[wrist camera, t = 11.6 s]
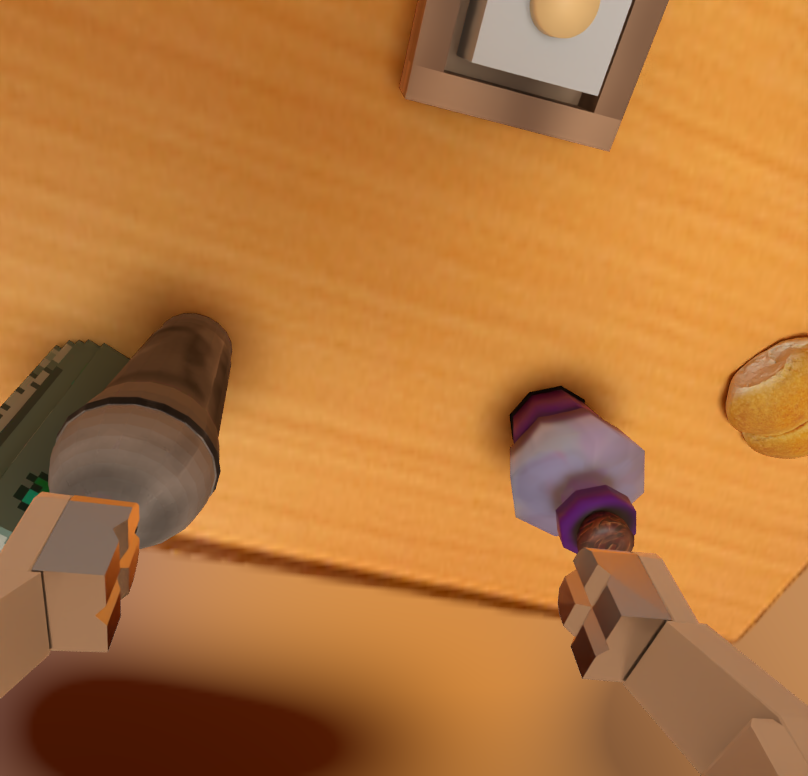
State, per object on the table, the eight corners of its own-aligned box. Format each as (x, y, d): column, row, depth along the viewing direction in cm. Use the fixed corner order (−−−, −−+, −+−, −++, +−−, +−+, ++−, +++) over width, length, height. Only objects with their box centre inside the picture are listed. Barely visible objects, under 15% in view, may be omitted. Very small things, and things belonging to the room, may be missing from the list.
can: (112, 438, 41) (2, 630, 28) (24, 387, 39) (-139, 572, 26) (162, 380, 39) (68, 558, 26) (73, 322, 37) (-79, 488, 24)
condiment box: (399, 87, 31) (405, 98, 27) (453, -166, 26) (469, -196, 22) (580, 134, 33) (609, 151, 29) (663, -94, 28) (711, -110, 24)
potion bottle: (584, 474, 46) (649, 607, 35) (473, 461, 44) (508, 596, 34) (628, 375, 41) (717, 496, 31) (506, 357, 40) (557, 477, 30)
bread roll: (760, 458, 46) (792, 493, 43) (701, 390, 43) (730, 423, 39) (865, 390, 44) (908, 422, 40) (811, 311, 40) (853, 339, 36)
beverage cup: (131, 282, 36) (-74, 532, 19) (259, 301, 37) (175, 554, 20) (135, 387, 39) (-34, 676, 22) (250, 402, 40) (173, 687, 23)
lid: (456, 55, 29) (476, 64, 24) (492, -92, 26) (523, -115, 21) (566, 84, 30) (607, 99, 25) (612, -54, 27) (669, -67, 22)
